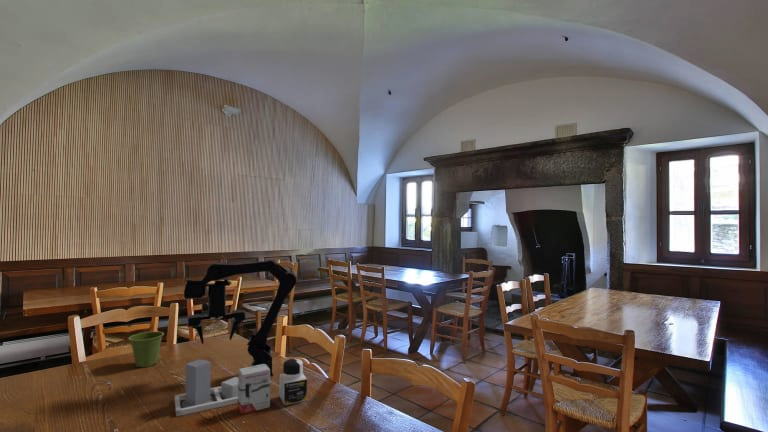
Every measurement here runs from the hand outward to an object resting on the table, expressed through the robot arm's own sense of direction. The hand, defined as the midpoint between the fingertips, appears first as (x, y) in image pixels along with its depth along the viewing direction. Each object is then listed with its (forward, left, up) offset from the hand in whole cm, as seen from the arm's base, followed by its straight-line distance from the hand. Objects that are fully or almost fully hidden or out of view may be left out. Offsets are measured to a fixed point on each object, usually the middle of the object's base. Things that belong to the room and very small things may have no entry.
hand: (216, 341), depth 140 cm
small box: (-3, +18, -13) cm, 22 cm away
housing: (+2, +18, -13) cm, 22 cm away
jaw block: (+7, +18, -13) cm, 23 cm away
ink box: (-7, +29, -13) cm, 33 cm away
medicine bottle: (-19, +29, -13) cm, 37 cm away
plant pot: (+22, -28, -13) cm, 38 cm away
